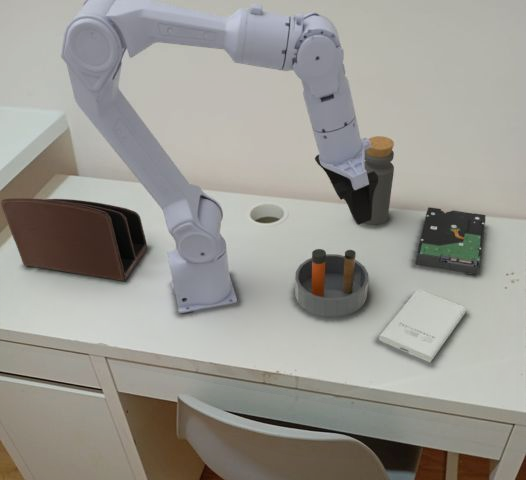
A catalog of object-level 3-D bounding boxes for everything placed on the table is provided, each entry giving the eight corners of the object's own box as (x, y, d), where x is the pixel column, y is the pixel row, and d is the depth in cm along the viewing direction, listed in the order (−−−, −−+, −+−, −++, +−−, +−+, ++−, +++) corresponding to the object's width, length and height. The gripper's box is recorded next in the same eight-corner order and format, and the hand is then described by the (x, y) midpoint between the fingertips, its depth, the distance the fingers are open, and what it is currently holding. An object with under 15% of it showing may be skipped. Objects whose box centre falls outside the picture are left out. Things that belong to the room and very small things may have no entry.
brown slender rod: (344, 294, 93) (346, 256, 88) (340, 288, 94) (343, 250, 89) (353, 292, 93) (357, 255, 88) (350, 286, 94) (353, 248, 89)
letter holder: (125, 282, 98) (105, 210, 88) (23, 266, 102) (-7, 196, 92) (148, 248, 105) (132, 177, 95) (52, 235, 109) (27, 166, 99)
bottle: (386, 228, 106) (396, 151, 95) (354, 226, 107) (361, 149, 96) (388, 210, 110) (398, 135, 99) (357, 208, 111) (363, 133, 100)
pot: (306, 325, 89) (306, 305, 86) (287, 280, 97) (287, 260, 94) (376, 311, 90) (379, 292, 87) (352, 268, 98) (354, 249, 95)
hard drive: (464, 315, 89) (429, 364, 82) (415, 296, 92) (378, 341, 86) (466, 307, 88) (431, 356, 81) (417, 288, 91) (379, 333, 85)
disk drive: (424, 219, 107) (414, 266, 98) (426, 206, 105) (416, 253, 96) (482, 227, 105) (478, 276, 95) (486, 213, 103) (482, 262, 93)
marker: (313, 301, 92) (314, 258, 86) (309, 293, 94) (310, 250, 87) (325, 298, 92) (327, 255, 86) (322, 290, 94) (323, 247, 88)
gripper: (383, 129, 69) (400, 221, 78) (344, 90, 79) (363, 175, 89) (328, 152, 69) (351, 242, 78) (296, 110, 80) (320, 193, 89)
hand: (354, 208), depth 84 cm, fingers open, 7 cm apart
